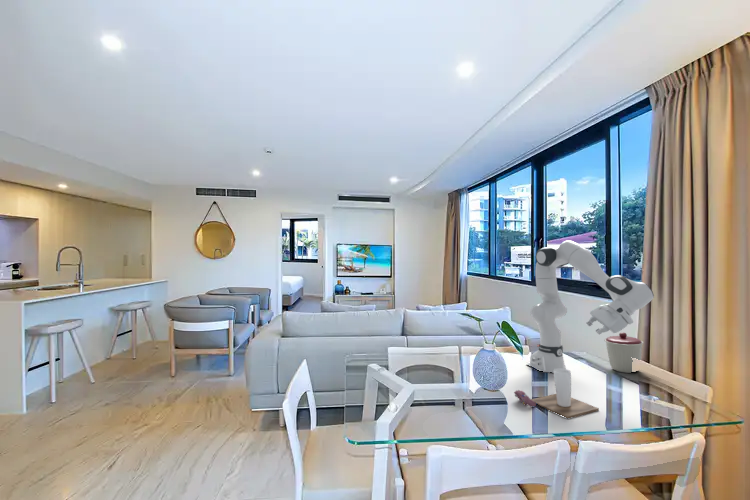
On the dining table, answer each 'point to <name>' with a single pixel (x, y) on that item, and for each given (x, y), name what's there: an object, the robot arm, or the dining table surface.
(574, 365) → the dining table surface
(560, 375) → the drinking glass
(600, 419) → the dining table surface
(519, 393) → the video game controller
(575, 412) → the walnut board
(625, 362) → the canister
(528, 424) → the dining table surface
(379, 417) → the dining table surface
